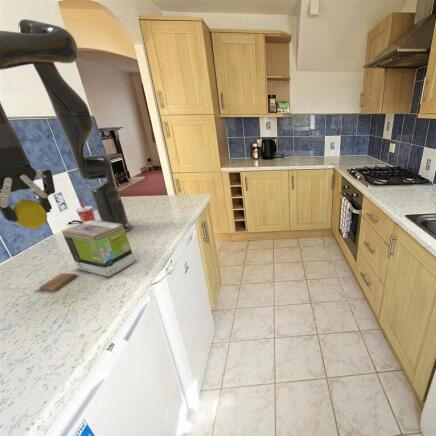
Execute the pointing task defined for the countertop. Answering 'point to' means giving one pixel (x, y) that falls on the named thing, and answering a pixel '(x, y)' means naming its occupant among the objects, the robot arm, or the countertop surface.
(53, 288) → the tea sachet
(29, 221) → the lemon
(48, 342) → the countertop surface
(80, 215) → the beverage cup
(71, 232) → the tea box
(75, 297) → the countertop surface
